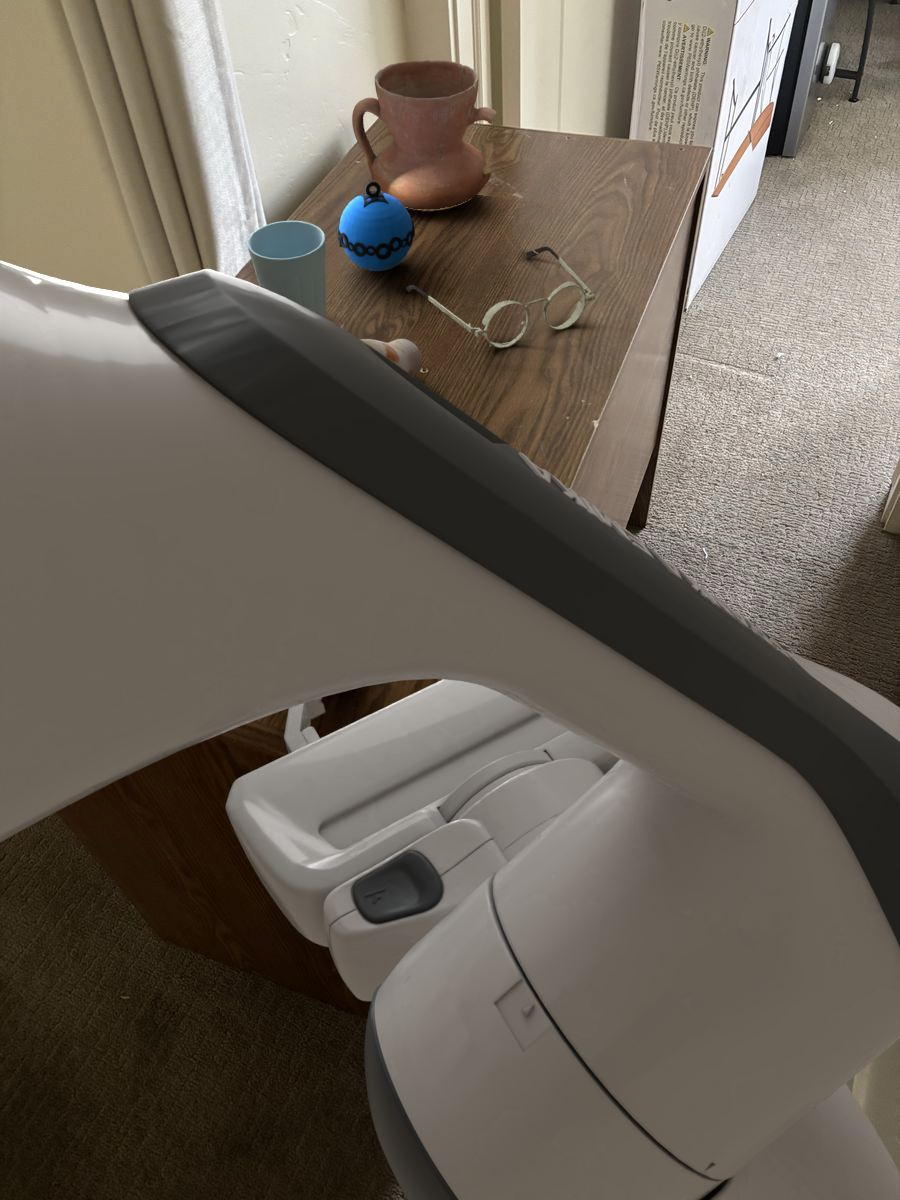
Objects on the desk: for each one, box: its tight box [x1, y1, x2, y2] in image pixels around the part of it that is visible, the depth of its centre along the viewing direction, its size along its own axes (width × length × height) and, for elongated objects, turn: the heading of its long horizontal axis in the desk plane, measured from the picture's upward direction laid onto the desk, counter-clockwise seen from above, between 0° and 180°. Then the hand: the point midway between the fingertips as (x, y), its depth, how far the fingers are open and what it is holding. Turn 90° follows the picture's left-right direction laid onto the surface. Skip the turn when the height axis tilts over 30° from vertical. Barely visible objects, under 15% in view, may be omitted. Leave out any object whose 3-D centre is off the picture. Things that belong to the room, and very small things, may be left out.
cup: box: [246, 220, 327, 319], centre depth 96 cm, size 8×8×10 cm
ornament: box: [336, 179, 416, 272], centre depth 105 cm, size 9×9×10 cm
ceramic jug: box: [351, 59, 498, 213], centre depth 115 cm, size 18×14×14 cm
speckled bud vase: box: [359, 338, 423, 377], centre depth 90 cm, size 8×10×10 cm
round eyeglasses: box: [405, 246, 596, 349], centre depth 101 cm, size 17×15×5 cm
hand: (381, 642), depth 46 cm, fingers open, 8 cm apart
